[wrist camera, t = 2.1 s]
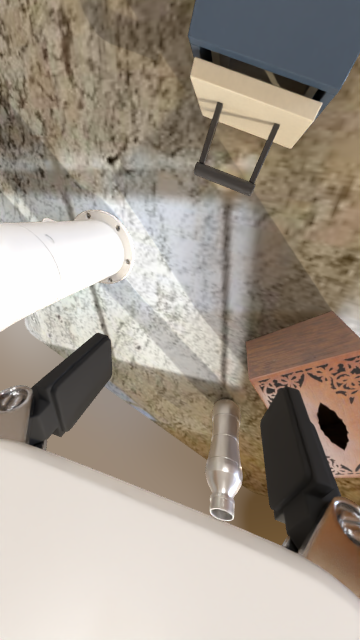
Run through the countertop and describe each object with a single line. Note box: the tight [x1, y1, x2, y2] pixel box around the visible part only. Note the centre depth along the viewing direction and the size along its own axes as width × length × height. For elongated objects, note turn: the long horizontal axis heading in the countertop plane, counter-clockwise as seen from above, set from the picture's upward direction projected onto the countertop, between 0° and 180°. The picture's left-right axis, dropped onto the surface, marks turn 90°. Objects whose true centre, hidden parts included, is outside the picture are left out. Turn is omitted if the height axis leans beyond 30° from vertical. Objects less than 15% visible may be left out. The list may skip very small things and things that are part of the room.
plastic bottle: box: [206, 399, 243, 521], centre depth 38 cm, size 6×7×20 cm
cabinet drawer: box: [190, 51, 322, 196], centre depth 18 cm, size 20×11×8 cm, turn 161°
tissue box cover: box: [246, 311, 360, 478], centre depth 33 cm, size 26×14×10 cm, turn 34°
